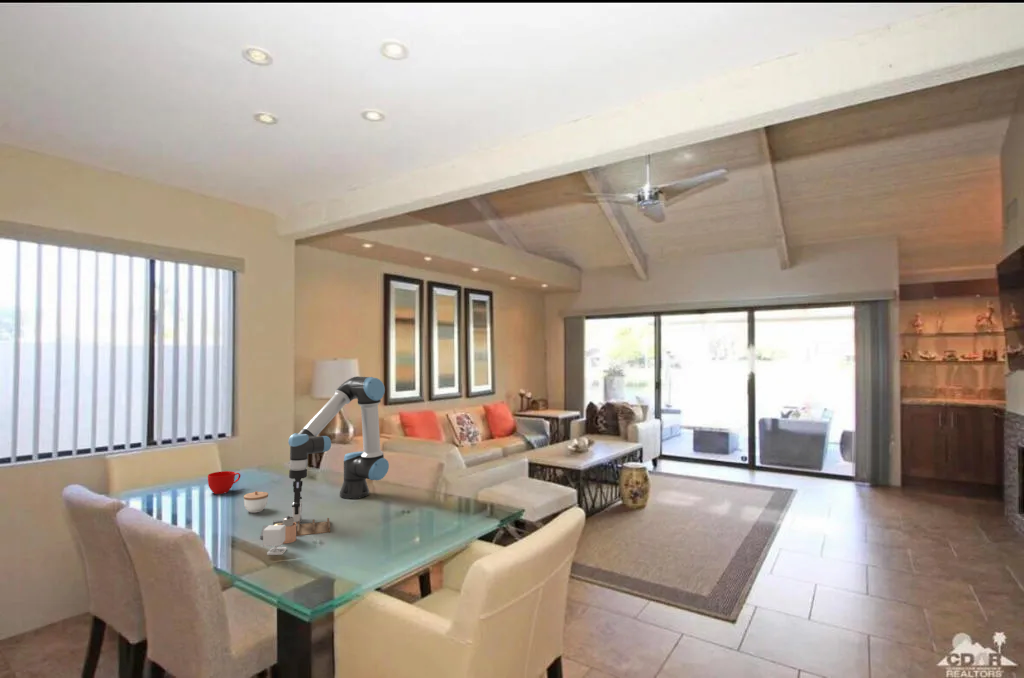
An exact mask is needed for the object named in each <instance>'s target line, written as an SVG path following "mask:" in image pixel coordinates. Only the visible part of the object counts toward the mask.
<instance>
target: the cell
mask: <svg viewBox="0 0 1024 678" xmlns="http://www.w3.org/2000/svg"><path fill="white" fill-rule="evenodd" d="M295 504H296V503H295ZM292 505H294V501H293V502H292ZM291 514H292V515H291V517H293V507H292V513H291ZM302 517H303V501H302V500H300V523H301V524H302V521H303V520H302V519H303V518H302ZM297 523H298V521H296V525H297Z"/></svg>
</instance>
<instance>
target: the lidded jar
mask: <svg viewBox="0 0 1024 678" xmlns="http://www.w3.org/2000/svg"><path fill="white" fill-rule="evenodd" d="M268 501H269V492H265V491H257V490H256V491H254V492H249V493H248V492H247V493H246V494H245V495H243V505H244V508H245V510H247V511H248V513H253V514H254V513H259V512H262V511H264V509H265V508H266V506H267V505H268Z"/></svg>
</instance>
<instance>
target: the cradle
mask: <svg viewBox="0 0 1024 678" xmlns="http://www.w3.org/2000/svg"><path fill="white" fill-rule="evenodd" d="M276 523H283V519H278V520H273V522H272V525H274V524H276ZM269 525H270V524H269ZM269 525H262V529H261V532H260V534H259V535H260V537H259V540H263V531H264V529H265V528H266V527H267V526H269Z"/></svg>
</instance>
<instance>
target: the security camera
mask: <svg viewBox="0 0 1024 678" xmlns="http://www.w3.org/2000/svg"><path fill="white" fill-rule="evenodd" d="M266 526H267V525H266ZM285 527H286V526H285V525H273V524H269V526H267V527H266V528H265V529H264V531H263V539H262V547H268V546H269V547H270V546H271V548H270V549H269V550H268V551H267V552H266V553H267V556H276V555H277V556H280V555H283V554H284V553H285V552H286V551H287V549H288V548H287V546H284V547H283V546H281V545H283V544H284V543H283V542H284V541H285ZM272 546H273V547H272Z"/></svg>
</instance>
